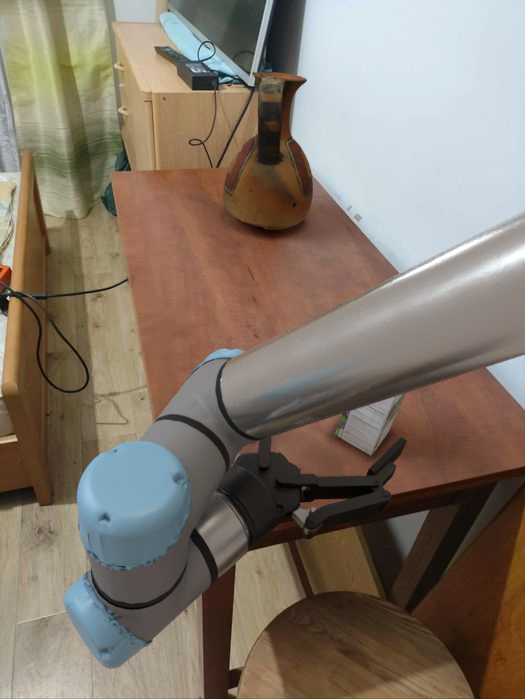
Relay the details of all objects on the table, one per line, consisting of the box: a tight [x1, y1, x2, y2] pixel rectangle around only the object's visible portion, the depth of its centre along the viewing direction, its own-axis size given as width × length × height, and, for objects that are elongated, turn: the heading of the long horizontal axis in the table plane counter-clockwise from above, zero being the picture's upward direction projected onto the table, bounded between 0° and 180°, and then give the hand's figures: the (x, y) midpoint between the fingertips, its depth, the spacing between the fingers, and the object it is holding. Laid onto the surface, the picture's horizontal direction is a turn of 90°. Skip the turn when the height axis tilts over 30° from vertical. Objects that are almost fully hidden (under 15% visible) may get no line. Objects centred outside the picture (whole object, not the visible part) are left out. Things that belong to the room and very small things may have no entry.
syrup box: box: [334, 393, 407, 456], centre depth 65 cm, size 6×6×14 cm
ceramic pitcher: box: [222, 71, 314, 231], centre depth 107 cm, size 20×20×30 cm
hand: (354, 412), depth 62 cm, fingers open, 13 cm apart
